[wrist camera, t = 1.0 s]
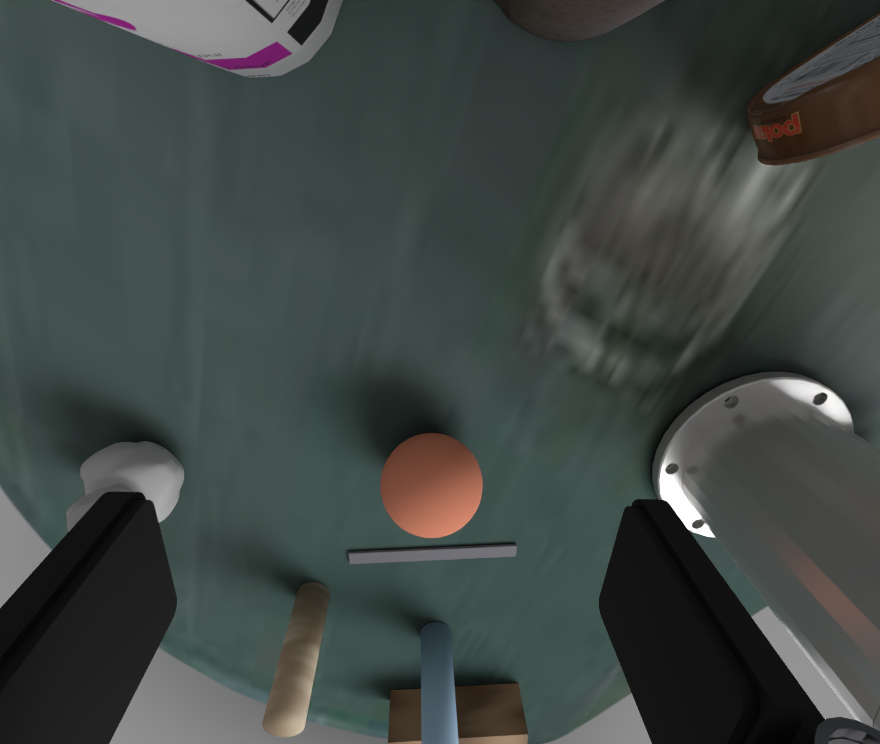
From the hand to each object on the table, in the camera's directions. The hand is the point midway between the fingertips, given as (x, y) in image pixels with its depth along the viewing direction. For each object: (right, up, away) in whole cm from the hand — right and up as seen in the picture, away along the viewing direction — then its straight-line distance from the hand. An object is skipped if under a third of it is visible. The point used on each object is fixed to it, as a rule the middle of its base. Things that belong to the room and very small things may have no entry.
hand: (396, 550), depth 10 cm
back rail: (+2, -24, +32) cm, 40 cm away
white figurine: (-18, -2, +21) cm, 27 cm away
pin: (+1, -17, +28) cm, 33 cm away
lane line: (0, -9, +25) cm, 27 cm away
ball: (0, -3, +19) cm, 19 cm away
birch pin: (-9, -13, +26) cm, 30 cm away
